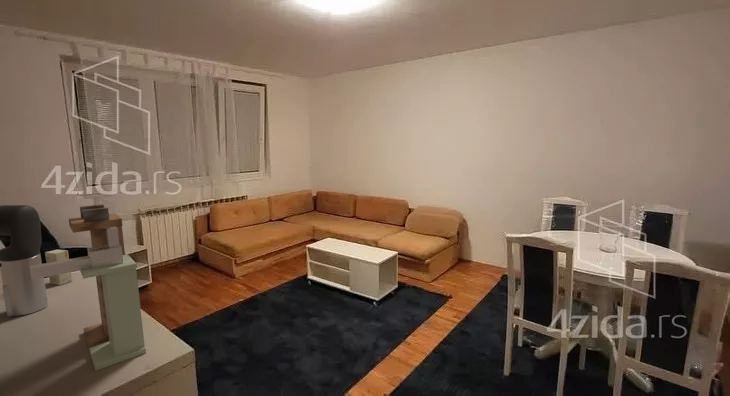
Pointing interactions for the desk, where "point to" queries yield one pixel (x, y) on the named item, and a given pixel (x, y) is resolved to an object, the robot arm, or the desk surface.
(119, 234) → the wooden pedestal post
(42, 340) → the desk surface
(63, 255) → the skincare box
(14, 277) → the robot arm
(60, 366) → the desk surface
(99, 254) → the grey stepped block
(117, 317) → the green flanged bracket
